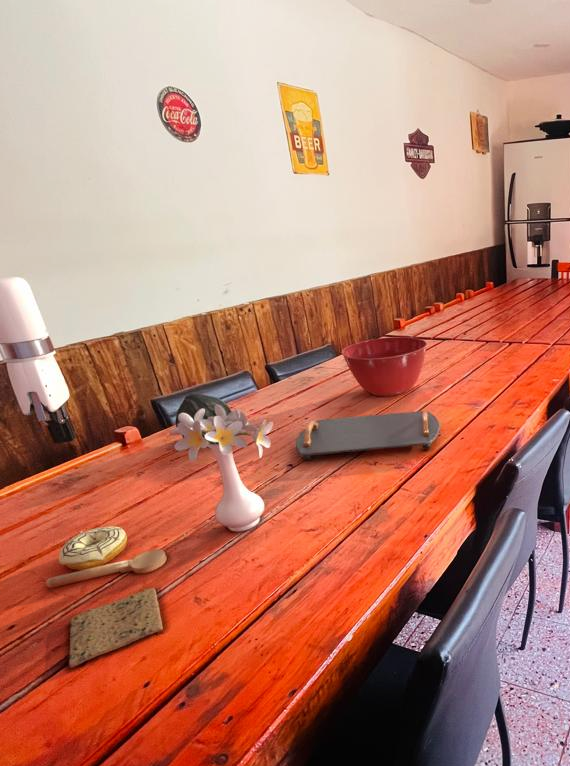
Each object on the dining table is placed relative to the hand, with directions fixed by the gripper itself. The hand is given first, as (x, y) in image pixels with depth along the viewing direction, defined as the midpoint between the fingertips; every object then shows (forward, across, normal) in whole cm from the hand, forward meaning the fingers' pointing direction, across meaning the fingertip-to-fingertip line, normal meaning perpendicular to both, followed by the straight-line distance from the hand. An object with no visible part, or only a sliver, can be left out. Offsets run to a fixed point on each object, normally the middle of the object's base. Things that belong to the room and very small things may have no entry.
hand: (65, 440), depth 100 cm
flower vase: (+19, +13, +30) cm, 38 cm away
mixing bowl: (+18, -55, +74) cm, 94 cm away
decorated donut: (+20, +13, +3) cm, 24 cm away
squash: (+19, -39, +18) cm, 47 cm away
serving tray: (+18, -16, +61) cm, 65 cm away
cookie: (+19, +36, +11) cm, 43 cm away
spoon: (+19, +20, +7) cm, 29 cm away
